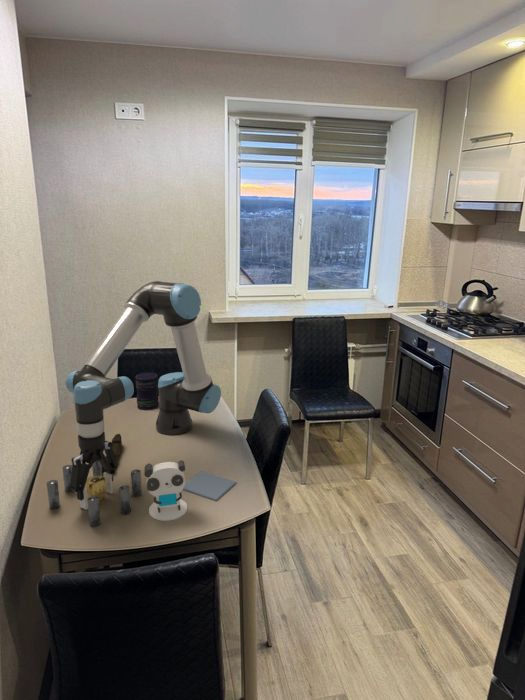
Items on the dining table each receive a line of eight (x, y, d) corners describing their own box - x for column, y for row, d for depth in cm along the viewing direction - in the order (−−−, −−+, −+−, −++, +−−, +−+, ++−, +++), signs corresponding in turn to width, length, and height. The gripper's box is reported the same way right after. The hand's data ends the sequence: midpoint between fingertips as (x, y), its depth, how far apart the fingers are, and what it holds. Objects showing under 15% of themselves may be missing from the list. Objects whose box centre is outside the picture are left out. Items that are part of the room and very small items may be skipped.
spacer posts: (91, 474, 161) (89, 452, 159) (152, 496, 149) (151, 474, 147) (39, 503, 144) (36, 480, 142) (103, 532, 132) (101, 506, 130)
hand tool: (114, 475, 161) (113, 460, 160) (100, 475, 161) (99, 460, 160) (128, 444, 183) (128, 431, 182) (116, 444, 183) (115, 431, 181)
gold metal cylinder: (97, 493, 150) (95, 473, 148) (110, 498, 147) (108, 478, 146) (83, 502, 145) (81, 481, 143) (96, 507, 143) (94, 486, 141)
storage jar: (152, 400, 226) (151, 370, 222) (162, 407, 219) (161, 376, 215) (133, 405, 220) (131, 375, 216) (143, 412, 213) (141, 380, 209)
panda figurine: (146, 523, 136) (144, 476, 132) (146, 501, 146) (144, 457, 142) (188, 517, 139) (187, 472, 135) (185, 496, 149) (184, 453, 145)
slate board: (201, 472, 164) (201, 470, 163) (236, 483, 157) (236, 481, 157) (179, 488, 153) (179, 487, 153) (216, 501, 147) (216, 499, 147)
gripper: (109, 417, 151) (114, 480, 157) (51, 444, 133) (58, 514, 139) (127, 422, 148) (131, 486, 154) (69, 450, 129) (76, 522, 135)
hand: (96, 499), depth 146 cm, fingers open, 9 cm apart
